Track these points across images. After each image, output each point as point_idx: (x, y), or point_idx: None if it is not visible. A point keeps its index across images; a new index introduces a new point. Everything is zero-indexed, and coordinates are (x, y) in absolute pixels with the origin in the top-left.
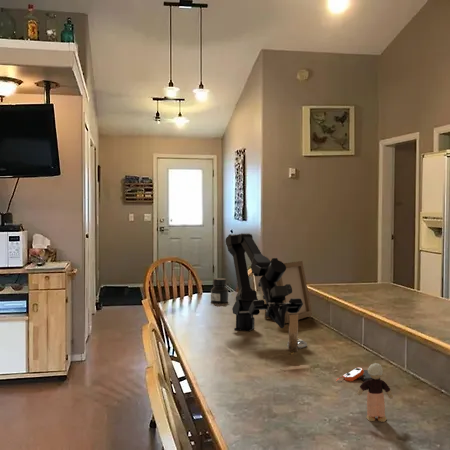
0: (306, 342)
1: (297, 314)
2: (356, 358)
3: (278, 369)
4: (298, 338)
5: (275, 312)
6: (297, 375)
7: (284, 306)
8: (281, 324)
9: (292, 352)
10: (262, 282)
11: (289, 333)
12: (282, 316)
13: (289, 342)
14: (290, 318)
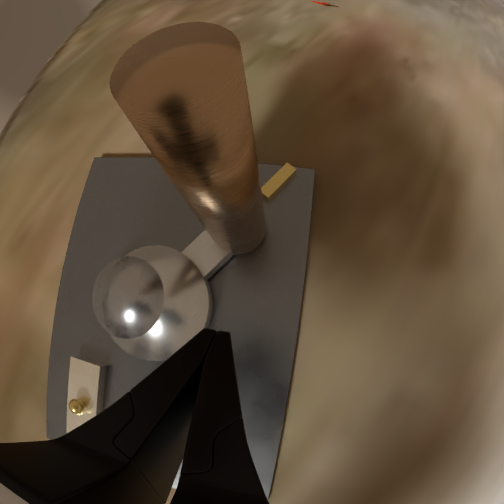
0: (96, 279)
1: (126, 56)
2: (75, 94)
3: (420, 78)
4: (74, 398)
5: (247, 491)
6: (380, 26)
7: (17, 471)
8: (230, 344)
9: (274, 181)
10: None
11: (259, 178)
12: (155, 408)
13: (263, 205)
14: (244, 76)
